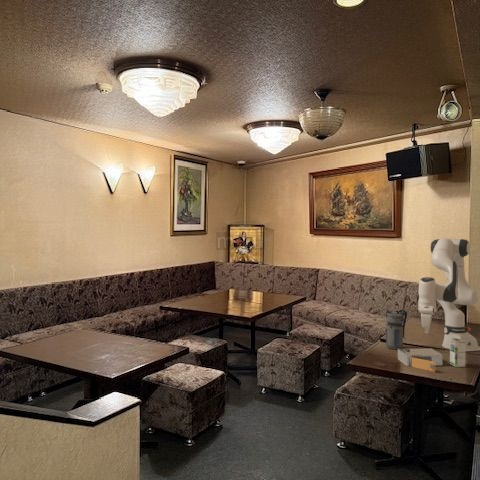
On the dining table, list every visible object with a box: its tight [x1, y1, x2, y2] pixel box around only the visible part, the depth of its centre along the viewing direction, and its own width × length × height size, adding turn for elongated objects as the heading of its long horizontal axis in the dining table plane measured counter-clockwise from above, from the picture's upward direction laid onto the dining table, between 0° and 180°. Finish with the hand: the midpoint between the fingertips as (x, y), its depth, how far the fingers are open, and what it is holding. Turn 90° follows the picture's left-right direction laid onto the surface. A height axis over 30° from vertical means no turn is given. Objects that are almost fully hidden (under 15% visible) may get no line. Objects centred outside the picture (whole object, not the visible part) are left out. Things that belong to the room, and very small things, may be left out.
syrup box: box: [449, 338, 466, 368], centre depth 225 cm, size 6×6×14 cm
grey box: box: [397, 347, 443, 367], centre depth 231 cm, size 20×14×7 cm
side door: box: [409, 356, 436, 373], centre depth 219 cm, size 13×2×5 cm, turn 47°
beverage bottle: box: [384, 308, 408, 351], centre depth 258 cm, size 10×13×25 cm
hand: (426, 332), depth 221 cm, fingers closed
